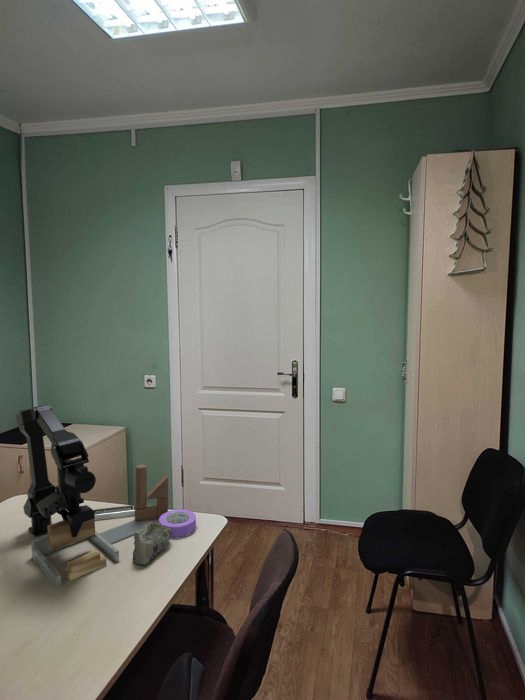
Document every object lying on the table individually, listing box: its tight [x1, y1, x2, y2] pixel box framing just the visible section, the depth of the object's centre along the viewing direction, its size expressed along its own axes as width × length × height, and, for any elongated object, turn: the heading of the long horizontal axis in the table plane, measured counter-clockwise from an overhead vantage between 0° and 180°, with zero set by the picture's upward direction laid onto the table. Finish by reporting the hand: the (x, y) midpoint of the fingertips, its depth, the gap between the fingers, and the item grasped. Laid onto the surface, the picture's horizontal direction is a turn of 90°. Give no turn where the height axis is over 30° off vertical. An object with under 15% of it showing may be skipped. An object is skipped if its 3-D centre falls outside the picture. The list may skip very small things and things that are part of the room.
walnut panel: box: [47, 518, 96, 550], centre depth 127 cm, size 3×12×6 cm, turn 135°
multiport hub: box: [93, 504, 135, 521], centre depth 153 cm, size 4×14×2 cm, turn 105°
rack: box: [30, 530, 120, 588], centre depth 127 cm, size 19×17×5 cm
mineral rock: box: [132, 521, 171, 565], centre depth 130 cm, size 13×11×10 cm
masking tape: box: [158, 509, 197, 539], centre depth 144 cm, size 12×12×4 cm
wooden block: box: [134, 464, 169, 521], centre depth 150 cm, size 4×11×18 cm, turn 105°
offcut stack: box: [64, 549, 107, 582], centre depth 122 cm, size 3×10×4 cm, turn 134°
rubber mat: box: [98, 519, 147, 545], centre depth 142 cm, size 8×14×1 cm, turn 135°
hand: (72, 534), depth 128 cm, fingers closed on walnut panel, 3 cm apart
